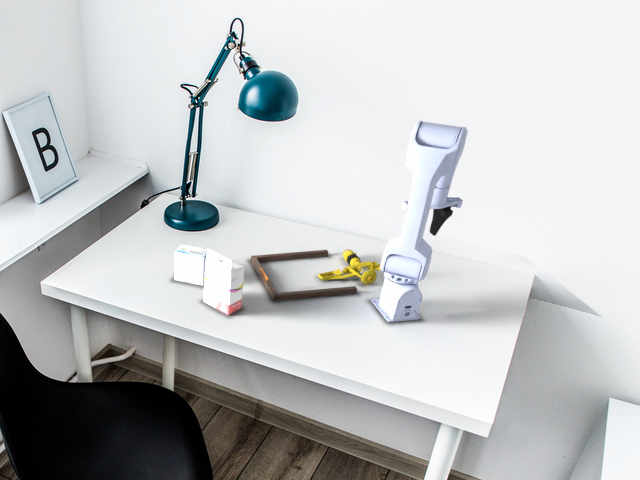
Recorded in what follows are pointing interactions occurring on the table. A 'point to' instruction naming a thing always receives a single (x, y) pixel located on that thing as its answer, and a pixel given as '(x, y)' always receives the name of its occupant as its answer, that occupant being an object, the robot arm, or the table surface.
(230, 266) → the ink cartridge box
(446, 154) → the robot arm
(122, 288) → the table surface
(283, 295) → the frame
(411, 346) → the table surface
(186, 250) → the medicine box
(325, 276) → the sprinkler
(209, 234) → the table surface
